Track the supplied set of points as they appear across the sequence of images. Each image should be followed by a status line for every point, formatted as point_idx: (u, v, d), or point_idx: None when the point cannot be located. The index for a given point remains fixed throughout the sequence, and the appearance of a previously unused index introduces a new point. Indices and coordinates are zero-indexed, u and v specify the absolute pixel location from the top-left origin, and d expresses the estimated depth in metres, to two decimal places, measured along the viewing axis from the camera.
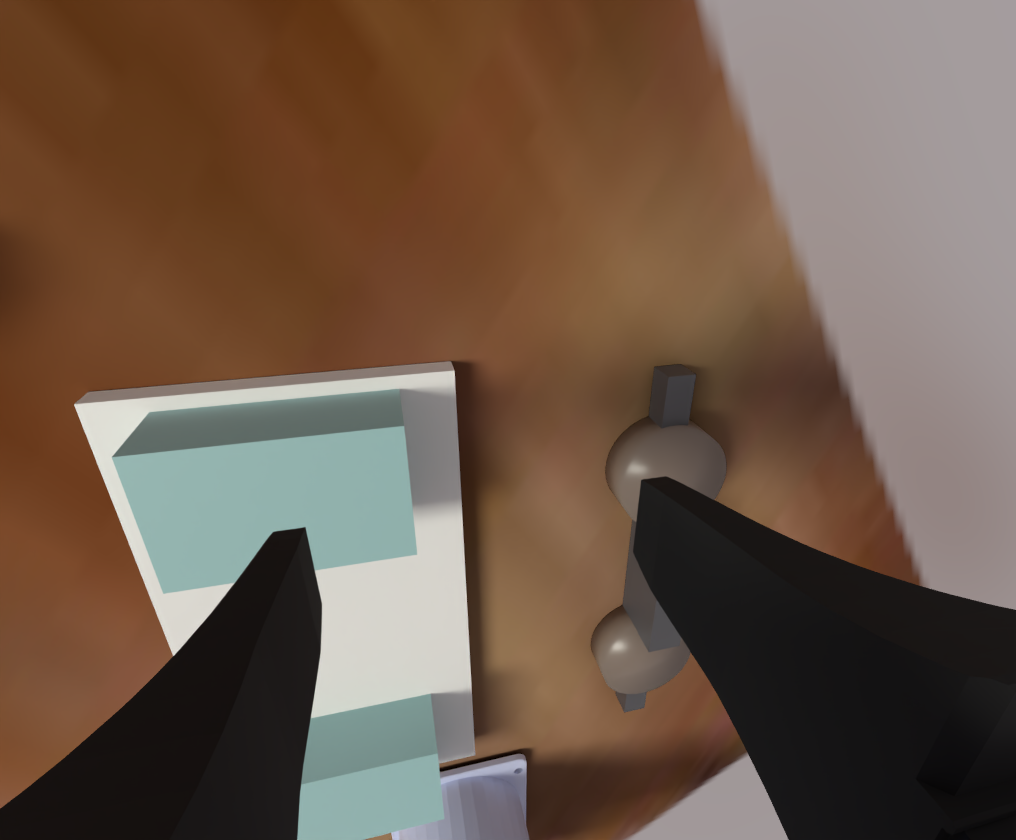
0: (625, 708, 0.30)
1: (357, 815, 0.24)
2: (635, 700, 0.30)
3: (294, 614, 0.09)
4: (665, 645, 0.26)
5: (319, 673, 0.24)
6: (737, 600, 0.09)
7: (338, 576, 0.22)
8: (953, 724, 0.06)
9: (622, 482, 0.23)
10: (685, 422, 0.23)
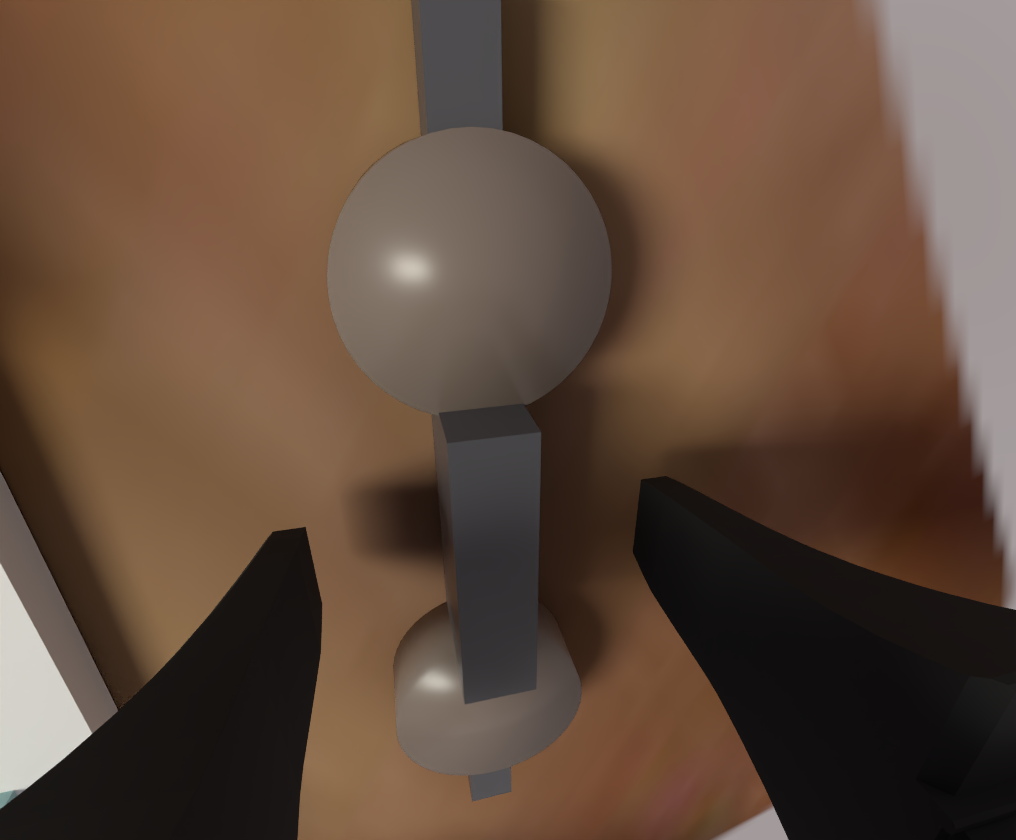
0: (473, 794, 0.16)
1: None
2: (491, 780, 0.16)
3: (294, 614, 0.09)
4: (501, 688, 0.12)
5: None
6: (737, 600, 0.09)
7: None
8: (954, 725, 0.06)
9: (327, 279, 0.09)
10: (493, 122, 0.09)
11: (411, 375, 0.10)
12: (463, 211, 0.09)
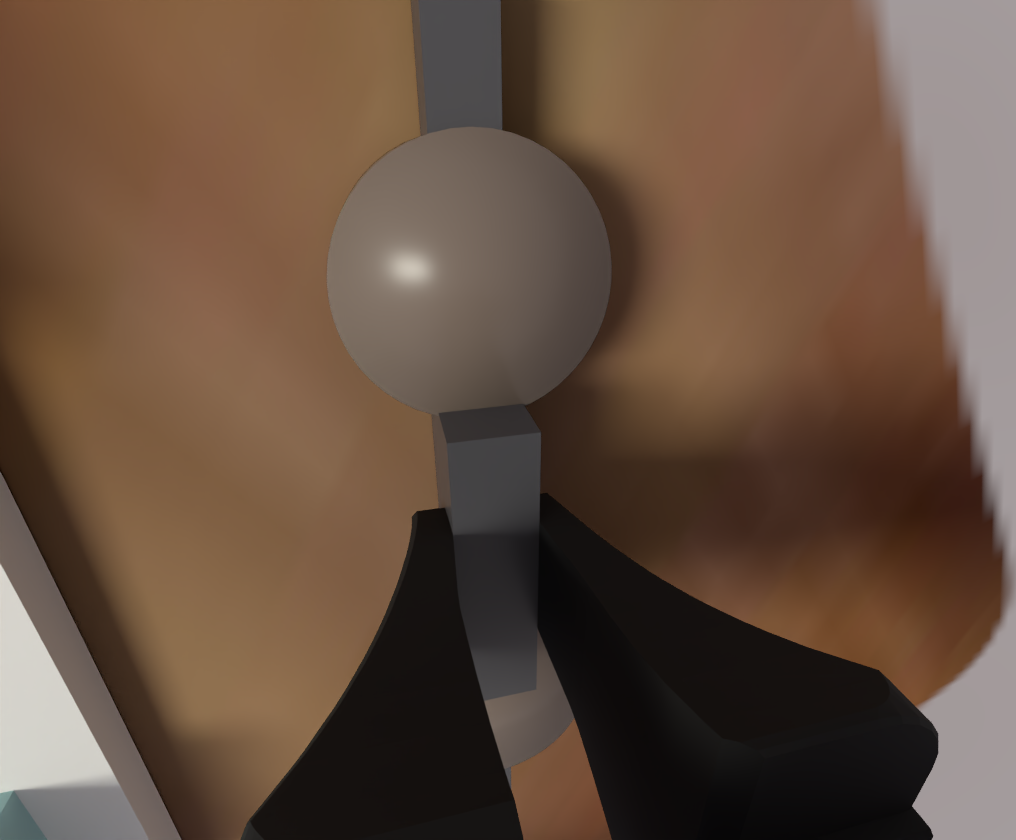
0: None
1: None
2: None
3: None
4: (501, 688, 0.12)
5: None
6: (583, 630, 0.09)
7: None
8: (718, 788, 0.05)
9: None
10: (493, 122, 0.09)
11: (411, 375, 0.10)
12: (463, 211, 0.09)
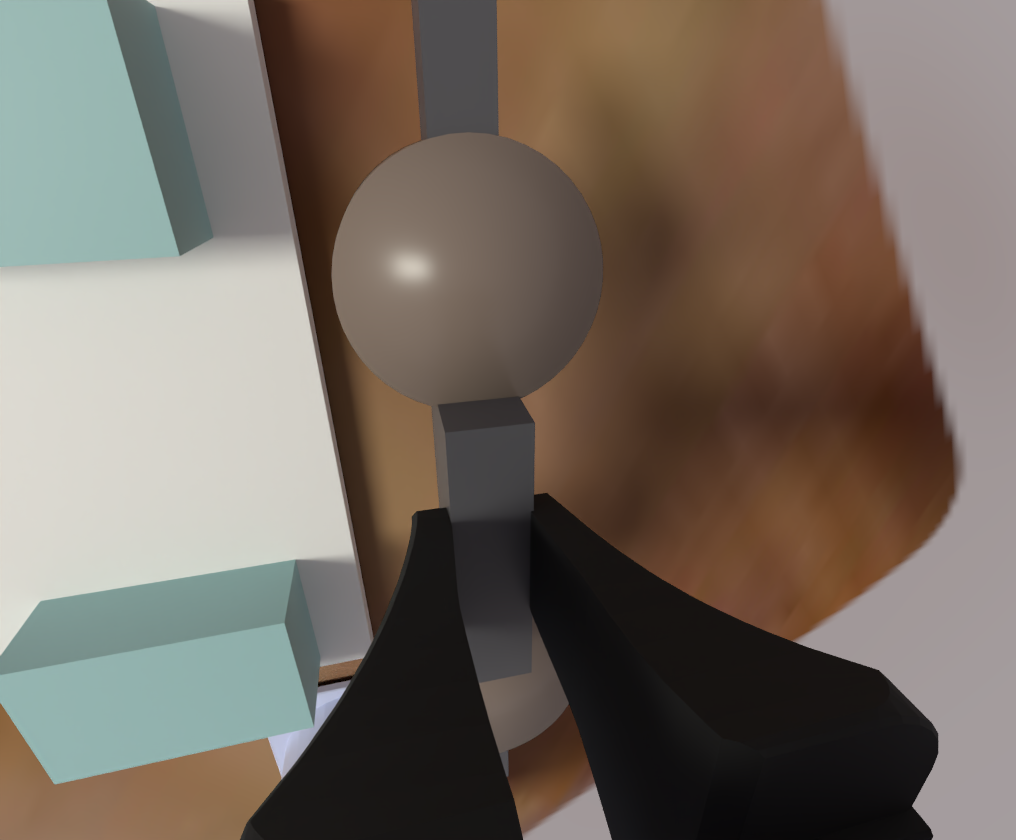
0: None
1: (180, 715, 0.17)
2: None
3: None
4: (498, 670, 0.12)
5: (122, 516, 0.17)
6: (583, 630, 0.09)
7: (119, 354, 0.15)
8: (718, 788, 0.05)
9: None
10: (489, 128, 0.09)
11: (412, 368, 0.10)
12: (461, 212, 0.09)
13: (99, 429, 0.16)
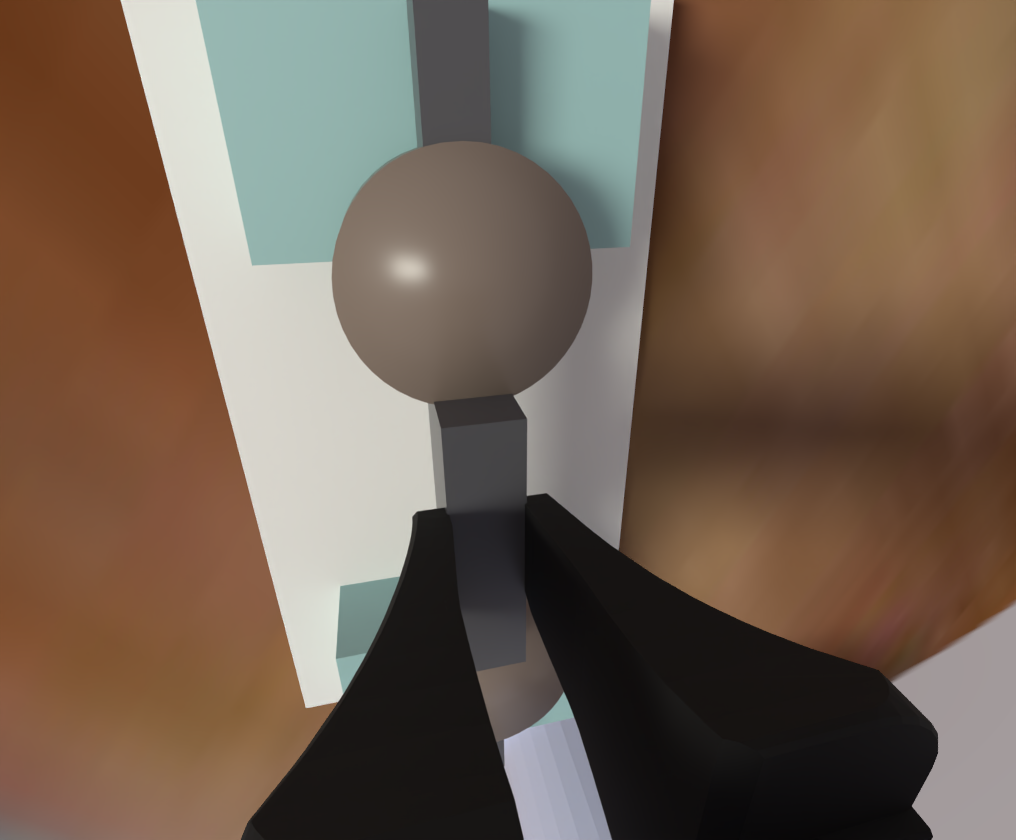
0: None
1: None
2: None
3: None
4: (493, 660, 0.13)
5: (432, 503, 0.18)
6: (583, 630, 0.09)
7: None
8: (718, 789, 0.05)
9: (332, 278, 0.09)
10: (482, 136, 0.10)
11: (408, 366, 0.10)
12: (455, 217, 0.09)
13: None
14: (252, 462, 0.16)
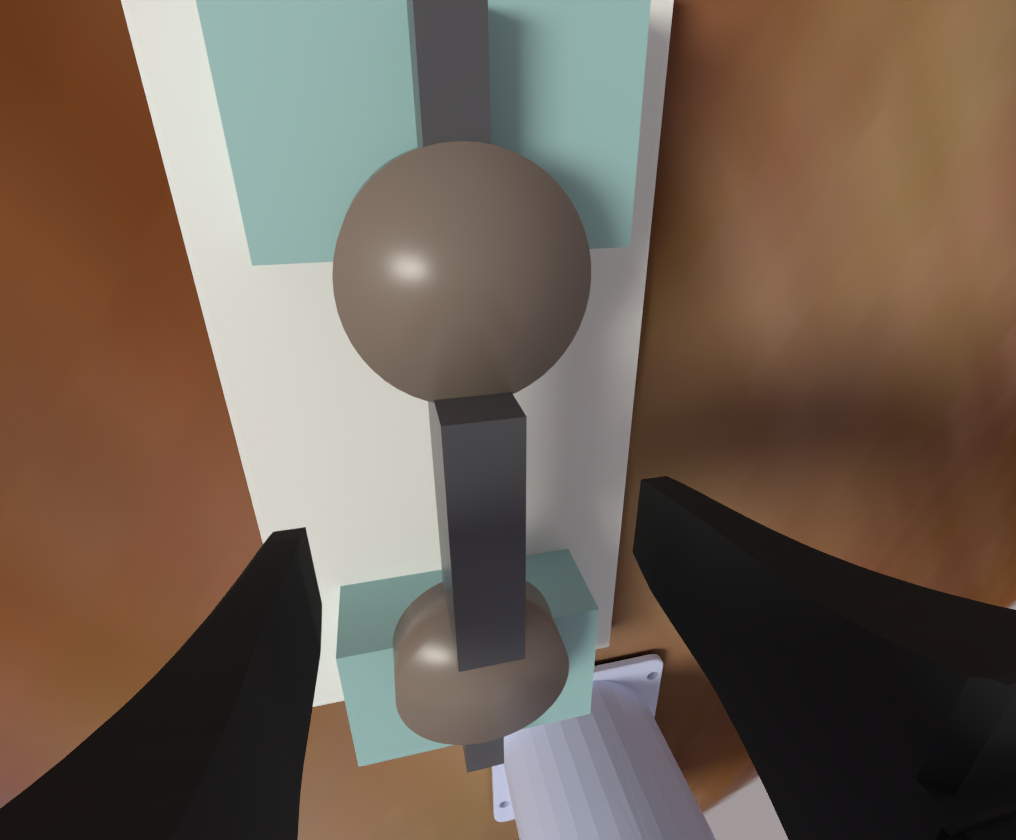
0: (467, 766, 0.17)
1: None
2: (484, 752, 0.17)
3: (294, 614, 0.09)
4: (492, 657, 0.13)
5: (432, 503, 0.18)
6: (737, 600, 0.09)
7: None
8: (954, 724, 0.06)
9: (332, 277, 0.10)
10: (482, 136, 0.10)
11: (409, 365, 0.10)
12: (455, 216, 0.10)
13: None
14: (252, 462, 0.16)
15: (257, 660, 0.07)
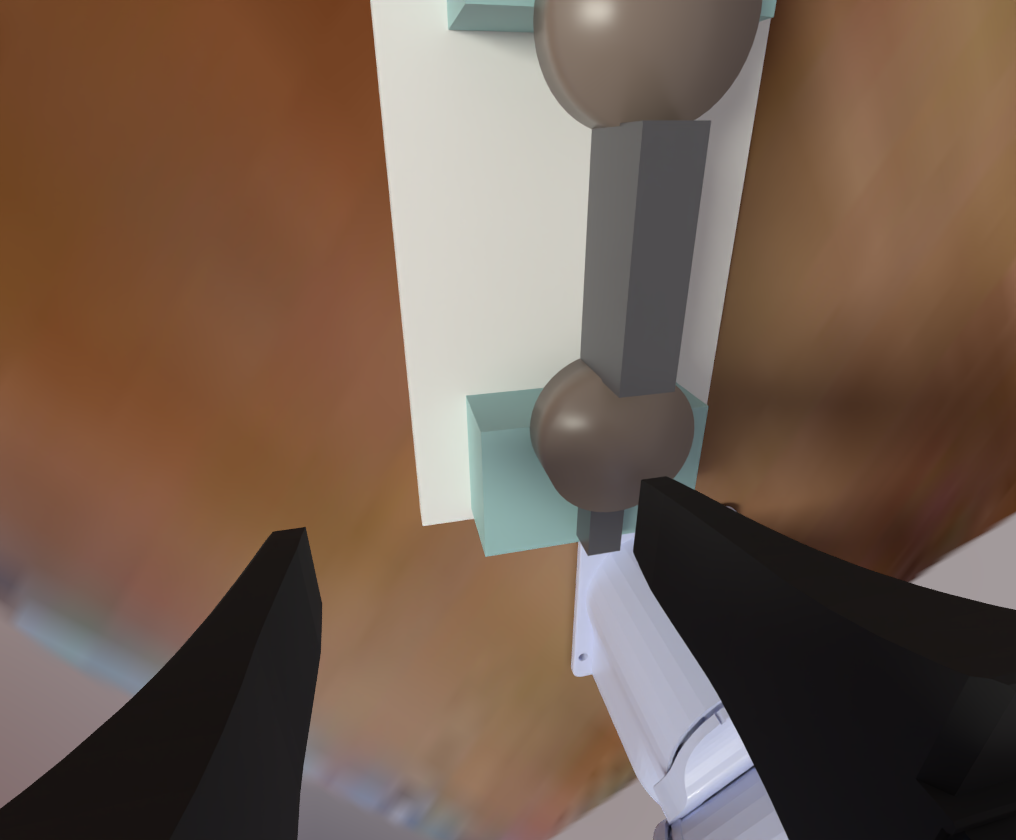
0: (589, 549, 0.19)
1: None
2: (605, 535, 0.19)
3: (294, 614, 0.09)
4: (648, 385, 0.14)
5: (554, 314, 0.19)
6: (737, 600, 0.09)
7: None
8: (954, 724, 0.06)
9: None
10: None
11: (605, 83, 0.12)
12: None
13: (566, 222, 0.18)
14: (405, 255, 0.17)
15: (257, 660, 0.07)
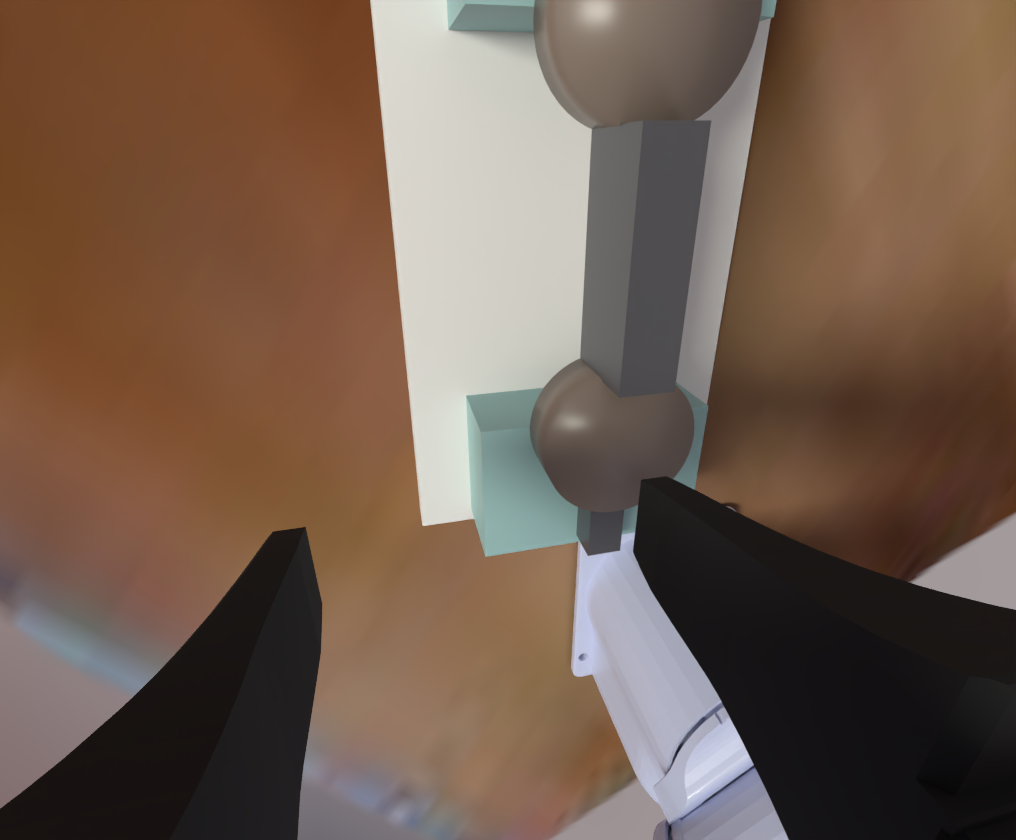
0: (589, 549, 0.19)
1: None
2: (605, 535, 0.19)
3: (294, 614, 0.09)
4: (648, 385, 0.14)
5: (554, 314, 0.19)
6: (737, 600, 0.09)
7: None
8: (954, 724, 0.06)
9: None
10: None
11: (605, 83, 0.12)
12: None
13: (567, 222, 0.18)
14: (405, 255, 0.17)
15: (257, 660, 0.07)
